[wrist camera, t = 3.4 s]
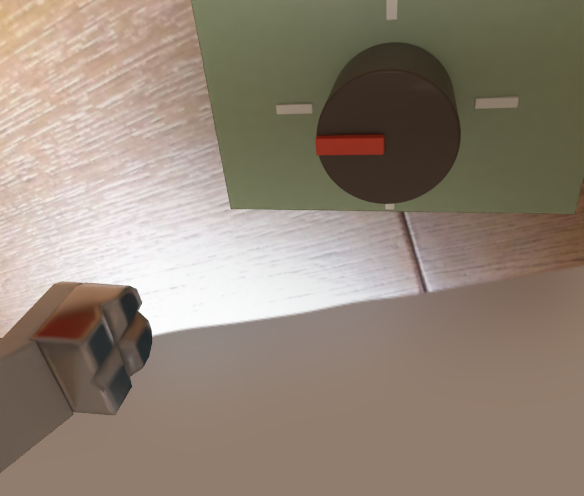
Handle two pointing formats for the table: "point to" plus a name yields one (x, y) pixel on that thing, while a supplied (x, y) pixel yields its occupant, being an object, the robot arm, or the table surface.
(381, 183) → the lock knob
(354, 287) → the table surface
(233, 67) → the panel
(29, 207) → the table surface
